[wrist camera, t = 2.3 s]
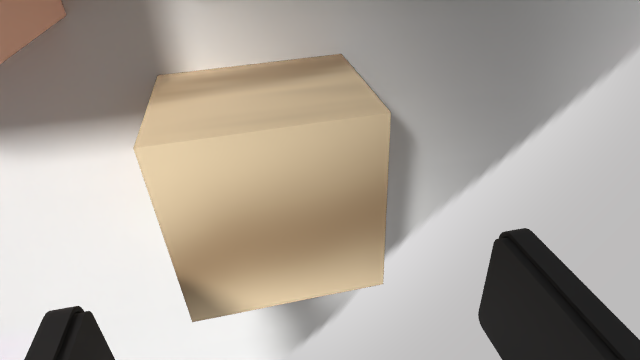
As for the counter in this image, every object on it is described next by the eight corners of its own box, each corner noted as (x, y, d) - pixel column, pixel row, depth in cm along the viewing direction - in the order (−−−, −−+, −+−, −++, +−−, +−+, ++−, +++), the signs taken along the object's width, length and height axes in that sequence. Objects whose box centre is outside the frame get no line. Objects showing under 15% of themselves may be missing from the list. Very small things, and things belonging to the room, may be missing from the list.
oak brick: (157, 74, 13) (133, 148, 9) (340, 52, 14) (390, 112, 10) (197, 220, 17) (192, 322, 13) (344, 196, 18) (383, 284, 14)
